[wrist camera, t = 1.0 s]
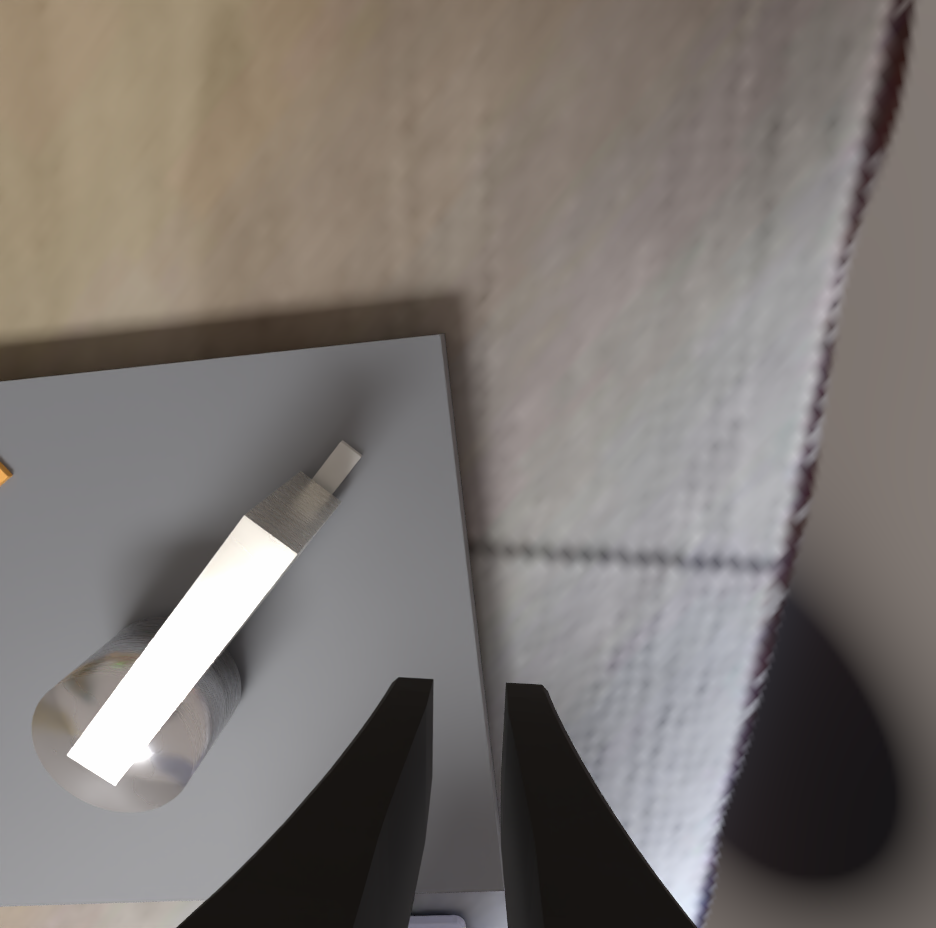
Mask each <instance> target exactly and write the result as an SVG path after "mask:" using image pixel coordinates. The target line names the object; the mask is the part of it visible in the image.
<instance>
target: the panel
mask: <svg viewBox="0 0 936 928" xmlns="http://www.w3.org/2000/svg"><path fill="white" fill-rule="evenodd" d="M300 471H301V472H303V473H304V474H305V475H307V476H308V477H309V478H311V479H312V480H313V481H315V482H316V483H317V484H319V485H320V486H321V487H323V488H324V489H325V490H326V491H328V492H329V493H330V494H332V495H333V496H334V497H336V498H337V499H338V500H340V501H341V503H340V505H339V506H338V507H337V508H336V510H335V511H334V512H333V513H332V515H331V516H330V517H329V518H328V520H327V521H326V522H325V524H324V525H323V526H322V527H321V529H320V530H319V531H318V532H317V534H316V535H315V536H314V537H313V539H312V540H311V541H310V542H309V544H308V545H307V546H306V548H305V549H304V550H303V551H302V553H301V554H300V555H299V556H298V558H297V559H296V560H295V561H294V563H293V564H292V565H291V567H290V568H289V569H288V570H287V572H286V573H285V574H284V575H283V577H282V578H281V579H280V580H279V582H278V583H277V584H276V586H275V587H274V588H273V589H272V591H271V592H270V593H269V594H268V596H267V597H266V598H265V599H264V601H263V602H262V603H261V604H260V606H259V607H258V608H257V610H256V611H255V612H254V613H253V615H252V616H251V617H250V618H249V620H248V621H247V622H246V623H245V625H244V626H243V627H242V629H241V630H240V631H239V632H238V634H237V635H236V636H235V637H234V639H233V640H232V641H231V642H230V644H229V645H228V646H227V647H226V649H227V650H228V651H229V653H230V654H231V656H232V657H233V659H234V661H235V663H236V665H237V667H238V671H239V674H240V679H241V697H240V701H239V704H238V706H237V709H236V711H235V712H234V714H233V715H232V717H231V718H230V720H229V721H228V723H227V724H226V726H225V727H224V729H223V730H222V732H221V733H220V735H219V736H218V738H217V739H216V741H215V742H214V744H213V745H212V747H211V748H210V750H209V752H208V753H207V755H206V756H205V758H204V759H203V761H202V762H201V764H200V765H199V767H198V768H197V770H196V771H195V773H194V774H193V776H192V777H191V779H190V780H189V782H188V783H187V785H186V786H185V787H184V789H183V790H182V792H181V793H180V794H179V795H178V796H177V797H175V798H174V799H173V800H171V801H170V802H169V803H167V804H165V805H163V806H161V807H158V808H155V809H153V810H148V811H144V812H116V811H111V810H106V809H102V808H99V807H96V806H93V805H91V804H89V803H86V802H84V801H82V800H80V799H79V798H77V797H75V796H73V795H72V794H71V793H69V792H68V791H66V790H65V789H64V788H63V787H61V786H60V785H59V784H58V783H57V782H56V781H55V780H54V779H53V778H52V777H51V776H50V775H49V773H48V772H47V771H46V769H45V768H44V766H43V765H42V763H41V761H40V760H39V758H38V755H37V753H36V751H35V748H34V744H33V740H32V719H33V715H34V712H35V709H36V707H37V705H38V703H39V702H40V700H41V699H42V698H43V696H44V695H45V694H46V693H47V692H48V691H49V690H51V689H52V688H53V687H54V686H55V685H57V684H58V683H59V682H60V681H61V680H63V679H64V678H65V677H66V676H67V675H69V674H70V673H71V672H72V671H73V670H75V669H76V668H77V667H78V666H79V665H81V664H82V663H83V662H84V661H85V660H87V659H88V658H89V657H90V656H91V655H93V654H94V653H95V652H96V651H98V650H99V649H100V648H101V647H102V646H104V645H105V644H106V643H107V642H108V641H110V640H111V639H112V638H113V637H114V636H116V635H117V634H118V633H119V632H120V631H122V630H123V629H124V628H125V627H127V626H129V625H130V624H132V623H135V622H137V621H139V620H143V619H147V618H154V617H168V618H169V616H170V615H171V614H172V612H173V611H174V609H175V608H176V607H177V605H178V604H179V603H180V601H181V600H182V599H183V597H184V596H185V595H186V593H187V592H188V591H189V589H190V588H191V586H192V585H193V584H194V582H195V581H196V580H197V578H198V577H199V576H200V574H201V573H202V572H203V570H204V569H205V568H206V566H207V565H208V563H209V562H210V561H211V559H212V558H213V557H214V555H215V554H216V553H217V551H218V550H219V549H220V547H221V546H222V545H223V543H224V542H225V540H226V539H227V538H228V536H229V535H230V534H231V532H232V531H233V530H234V528H235V527H236V526H237V524H238V523H239V522H240V520H241V519H242V518H243V516H244V515H245V514H246V513H248V512H249V511H250V510H252V509H253V508H254V507H255V506H257V505H258V504H259V503H261V502H262V501H263V500H264V499H266V498H267V497H268V496H270V495H271V494H272V493H273V492H275V491H276V490H277V489H279V488H280V487H281V486H282V485H284V484H285V483H286V482H288V481H289V480H290V479H291V478H293V477H294V476H295V475H297V474H298V473H299V472H300ZM398 677H407V678H425V679H434V689H433V777H432V786H431V795H430V805H429V814H428V823H427V832H426V841H425V846H424V851H423V856H422V861H421V866H420V871H419V876H418V881H417V886H416V891H415V894H418V893H450V892H482V891H504V876H503V864H502V853H501V830H500V821H499V812H498V803H497V794H496V786H495V777H494V768H493V759H492V750H491V741H490V732H489V723H488V715H487V706H486V697H485V688H484V679H483V670H482V661H481V652H480V644H479V635H478V626H477V617H476V608H475V599H474V590H473V582H472V573H471V564H470V555H469V546H468V537H467V528H466V519H465V511H464V502H463V493H462V484H461V475H460V466H459V457H458V449H457V440H456V431H455V422H454V413H453V404H452V395H451V386H450V378H449V369H448V360H447V351H446V342H445V333H444V334H435V335H425V336H416V337H407V338H397V339H388V340H379V341H370V342H360V343H351V344H342V345H332V346H323V347H314V348H304V349H295V350H286V351H277V352H267V353H258V354H249V355H239V356H230V357H221V358H211V359H202V360H193V361H184V362H174V363H165V364H156V365H146V366H137V367H128V368H118V369H109V370H100V371H91V372H81V373H72V374H63V375H53V376H44V377H35V378H25V379H16V380H7V381H0V907H1V906H33V905H65V904H97V903H129V902H161V901H193V900H207V899H208V898H209V897H210V896H211V895H212V894H213V893H215V892H216V891H217V890H218V889H219V888H220V887H221V886H222V885H223V884H224V883H225V882H226V881H227V880H228V879H229V878H230V877H231V876H233V875H234V874H235V873H236V872H237V871H238V870H239V869H240V868H241V867H242V866H243V865H244V864H245V863H246V862H247V861H248V860H249V859H250V858H251V857H252V856H253V855H254V854H255V853H256V852H257V851H258V849H259V848H260V847H261V846H262V845H263V844H264V843H265V842H266V841H267V840H268V839H269V838H270V837H271V836H272V835H273V834H274V833H275V832H276V831H277V829H278V828H279V827H280V826H281V825H282V824H283V823H284V822H285V821H286V820H287V819H288V818H289V816H290V815H291V814H292V813H293V812H294V811H295V810H296V808H297V807H298V806H299V805H300V804H301V803H302V801H303V800H304V799H305V798H306V797H307V796H308V795H309V793H310V792H311V791H312V790H313V789H314V788H315V786H316V785H317V784H318V783H319V782H320V781H321V779H322V778H323V777H324V776H325V775H326V774H327V772H328V771H329V770H330V769H331V767H332V766H333V765H334V764H335V762H336V761H337V760H338V758H339V757H340V756H341V754H342V753H343V752H344V751H345V749H346V748H347V747H348V745H349V744H350V743H351V742H352V740H353V739H354V738H355V736H356V735H357V734H358V732H359V731H360V730H361V728H362V727H363V725H364V724H365V723H366V721H367V720H368V718H369V717H370V716H371V714H372V713H373V711H374V710H375V708H376V707H377V706H378V704H379V703H380V701H381V699H382V698H383V696H384V695H385V693H386V692H387V690H388V688H389V687H390V685H391V684H392V682H393V681H395V680H396V679H397V678H398Z"/></svg>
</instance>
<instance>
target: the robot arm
mask: <svg viewBox="0 0 936 928" xmlns="http://www.w3.org/2000/svg"><path fill="white" fill-rule="evenodd" d="M433 689H434V679H425V678H407V677H398V678H397V679H396V680H395V681H393V682H392V684H391V685H390V687H389V688H388V690H387V692H386V693H385V695H384V696H383V698H382V699H381V701H380V703H379V704H378V706H377V707H376V708H375V710H374V711H373V713H372V714H371V716H370V717H369V718H368V720H367V721H366V723H365V724H364V725H363V727H362V728H361V730H360V731H359V732H358V734H357V735H356V736H355V738H354V739H353V740H352V742H351V743H350V744H349V745H348V747H347V748H346V749H345V751H344V752H343V753H342V754H341V756H340V757H339V758H338V760H337V761H336V762H335V764H334V765H333V766H332V767H331V769H330V770H329V771H328V772H327V774H326V775H325V776H324V777H323V778H322V779H321V781H320V782H319V783H318V784H317V785H316V786H315V788H314V789H313V790H312V791H311V792H310V793H309V795H308V796H307V797H306V798H305V799H304V800H303V801H302V803H301V804H300V805H299V806H298V807H297V808H296V810H295V811H294V812H293V813H292V814H291V815H290V816H289V818H288V819H287V820H286V821H285V822H284V823H283V824H282V825H281V826H280V827H279V828H278V829H277V831H276V832H275V833H274V834H273V835H272V836H271V837H270V838H269V839H268V840H267V841H266V842H265V843H264V844H263V845H262V846H261V847H260V848H259V849H258V851H257V852H256V853H255V854H254V855H253V856H252V857H251V858H250V859H249V860H248V861H247V862H246V863H245V864H244V865H243V866H242V867H241V868H240V869H239V870H238V871H237V872H236V873H235V874H234V875H233V876H231V877H230V878H229V879H228V880H227V881H226V882H225V883H224V884H223V885H222V886H221V887H220V888H219V889H218V890H217V891H216V892H215V893H213V894H212V895H211V896H210V897H209V898H208V899H207V900H206V901H205V902H204V903H203V904H202V905H200V906H199V907H198V908H197V909H196V910H195V911H194V912H193V913H192V914H191V915H190V916H189V917H187V918H186V919H185V920H184V921H183V922H182V923H181V924H180V925H179V926H178V927H177V928H466V923H465V921H464V920H463V919H462V918H461V917H460V916H457V915H436V916H410V915H411V910H412V905H413V901H414V896H415V891H416V886H417V881H418V876H419V871H420V866H421V861H422V856H423V851H424V846H425V841H426V832H427V823H428V814H429V805H430V795H431V786H432V777H433ZM501 853H502V864H503V876H504V887H505V899H506V910H507V922H508V928H697V927H696V925H695V924H694V923H693V922H692V921H691V919H690V918H689V917H688V916H687V914H686V913H685V912H684V910H683V909H682V908H681V906H680V905H679V904H678V903H677V901H676V900H675V899H674V897H673V896H672V895H671V893H670V892H669V891H668V890H667V888H666V887H665V886H664V884H663V883H662V882H661V880H660V879H659V878H658V876H657V875H656V874H655V872H654V871H653V869H652V868H651V867H650V865H649V864H648V863H647V861H646V860H645V858H644V857H643V855H642V854H641V853H640V851H639V850H638V848H637V847H636V846H635V844H634V843H633V841H632V840H631V838H630V837H629V835H628V834H627V832H626V831H625V829H624V828H623V826H622V825H621V823H620V822H619V820H618V819H617V817H616V816H615V814H614V813H613V811H612V809H611V808H610V806H609V805H608V803H607V802H606V800H605V798H604V797H603V795H602V794H601V792H600V790H599V789H598V787H597V785H596V784H595V782H594V780H593V779H592V777H591V775H590V773H589V772H588V770H587V768H586V767H585V765H584V763H583V762H582V760H581V758H580V756H579V755H578V753H577V751H576V749H575V747H574V745H573V744H572V742H571V740H570V738H569V736H568V734H567V732H566V730H565V728H564V726H563V724H562V722H561V720H560V718H559V716H558V714H557V712H556V710H555V707H554V705H553V703H552V701H551V698H550V696H549V693H548V691H547V690H546V689H545V688H544V686H543V685H537V684H519V683H506V693H505V712H504V732H503V751H502V771H501Z"/></svg>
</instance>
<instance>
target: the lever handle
mask: <svg viewBox="0 0 936 928" xmlns="http://www.w3.org/2000/svg"><path fill="white" fill-rule="evenodd" d="M340 503H341V501H340V500H338V499H337V498H336V497H334V496H333V495H332V494H330V493H329V492H328V491H326V490H325V489H324V488H323V487H321V486H320V485H319V484H317V483H316V482H315V481H313V480H312V479H311V478H309V477H308V476H307V475H305V474H304V473H303V472H301V471H300V472H299V473H298V474H297V475H295V476H294V477H293V478H291V479H290V480H289V481H288V482H286V483H285V484H284V485H282V486H281V487H280V488H279V489H277V490H276V491H275V492H273V493H272V494H271V495H270V496H268V497H267V498H266V499H264V500H263V501H262V502H261V503H259V504H258V505H257V506H255V507H254V508H253V509H252V510H250V511H249V512H248V513H246V514H245V515H244V516H243V518H242V519H241V520H240V522H239V523H238V524H237V526H236V527H235V528H234V530H233V531H232V532H231V534H230V535H229V536H228V538H227V539H226V540H225V542H224V543H223V545H222V546H221V547H220V549H219V550H218V551H217V553H216V554H215V555H214V557H213V558H212V559H211V561H210V562H209V563H208V565H207V566H206V568H205V569H204V570H203V572H202V573H201V574H200V576H199V577H198V578H197V580H196V581H195V582H194V584H193V585H192V586H191V588H190V589H189V591H188V592H187V593H186V595H185V596H184V597H183V599H182V600H181V601H180V603H179V604H178V605H177V607H176V608H175V609H174V611H173V612H172V614H171V615H170V616H169V618H168V617H154V618H147V619H143V620H139V621H137V622H135V623H132V624H130V625H129V626H127V627H125V628H124V629H123V630H122V631H120V632H119V633H118V634H117V635H116V636H114V637H113V638H112V639H111V640H110V641H108V642H107V643H106V644H105V645H104V646H102V647H101V648H100V649H99V650H98V651H96V652H95V653H94V654H93V655H91V656H90V657H89V658H88V659H87V660H85V661H84V662H83V663H82V664H81V665H79V666H78V667H77V668H76V669H75V670H73V671H72V672H71V673H70V674H69V675H67V676H66V677H65V678H64V679H63V680H61V681H60V682H59V683H58V684H57V685H55V686H54V687H53V688H52V689H51V690H49V691H48V692H47V693H46V694H45V695H44V696H43V698H42V699H41V700H40V702H39V703H38V705H37V707H36V709H35V712H34V715H33V719H32V740H33V744H34V748H35V751H36V753H37V755H38V758H39V760H40V761H41V763H42V765H43V766H44V768H45V769H46V771H47V772H48V773H49V775H50V776H51V777H52V778H53V779H54V780H55V781H56V782H57V783H58V784H59V785H60V786H61V787H63V788H64V789H65V790H66V791H68V792H69V793H71V794H72V795H73V796H75V797H77V798H79V799H80V800H82V801H84V802H86V803H89V804H91V805H93V806H96V807H99V808H102V809H106V810H111V811H116V812H144V811H148V810H153V809H155V808H158V807H161V806H163V805H165V804H167V803H169V802H170V801H171V800H173V799H174V798H175V797H177V796H178V795H179V794H180V793H181V792H182V790H183V789H184V787H185V786H186V785H187V783H188V782H189V780H190V779H191V777H192V776H193V774H194V773H195V771H196V770H197V768H198V767H199V765H200V764H201V762H202V761H203V759H204V758H205V756H206V755H207V753H208V752H209V750H210V748H211V747H212V745H213V744H214V742H215V741H216V739H217V738H218V736H219V735H220V733H221V732H222V730H223V729H224V727H225V726H226V724H227V723H228V721H229V720H230V718H231V717H232V715H233V714H234V712H235V711H236V709H237V706H238V704H239V701H240V697H241V679H240V674H239V671H238V667H237V665H236V663H235V661H234V659H233V657H232V656H231V654H230V653H229V651H228V650H227V649H226V647H227V646H228V645H229V644H230V642H231V641H232V640H233V639H234V637H235V636H236V635H237V634H238V632H239V631H240V630H241V629H242V627H243V626H244V625H245V623H246V622H247V621H248V620H249V618H250V617H251V616H252V615H253V613H254V612H255V611H256V610H257V608H258V607H259V606H260V604H261V603H262V602H263V601H264V599H265V598H266V597H267V596H268V594H269V593H270V592H271V591H272V589H273V588H274V587H275V586H276V584H277V583H278V582H279V580H280V579H281V578H282V577H283V575H284V574H285V573H286V572H287V570H288V569H289V568H290V567H291V565H292V564H293V563H294V561H295V560H296V559H297V558H298V556H299V555H300V554H301V553H302V551H303V550H304V549H305V548H306V546H307V545H308V544H309V542H310V541H311V540H312V539H313V537H314V536H315V535H316V534H317V532H318V531H319V530H320V529H321V527H322V526H323V525H324V524H325V522H326V521H327V520H328V518H329V517H330V516H331V515H332V513H333V512H334V511H335V510H336V508H337V507H338V506H339V505H340Z"/></svg>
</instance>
